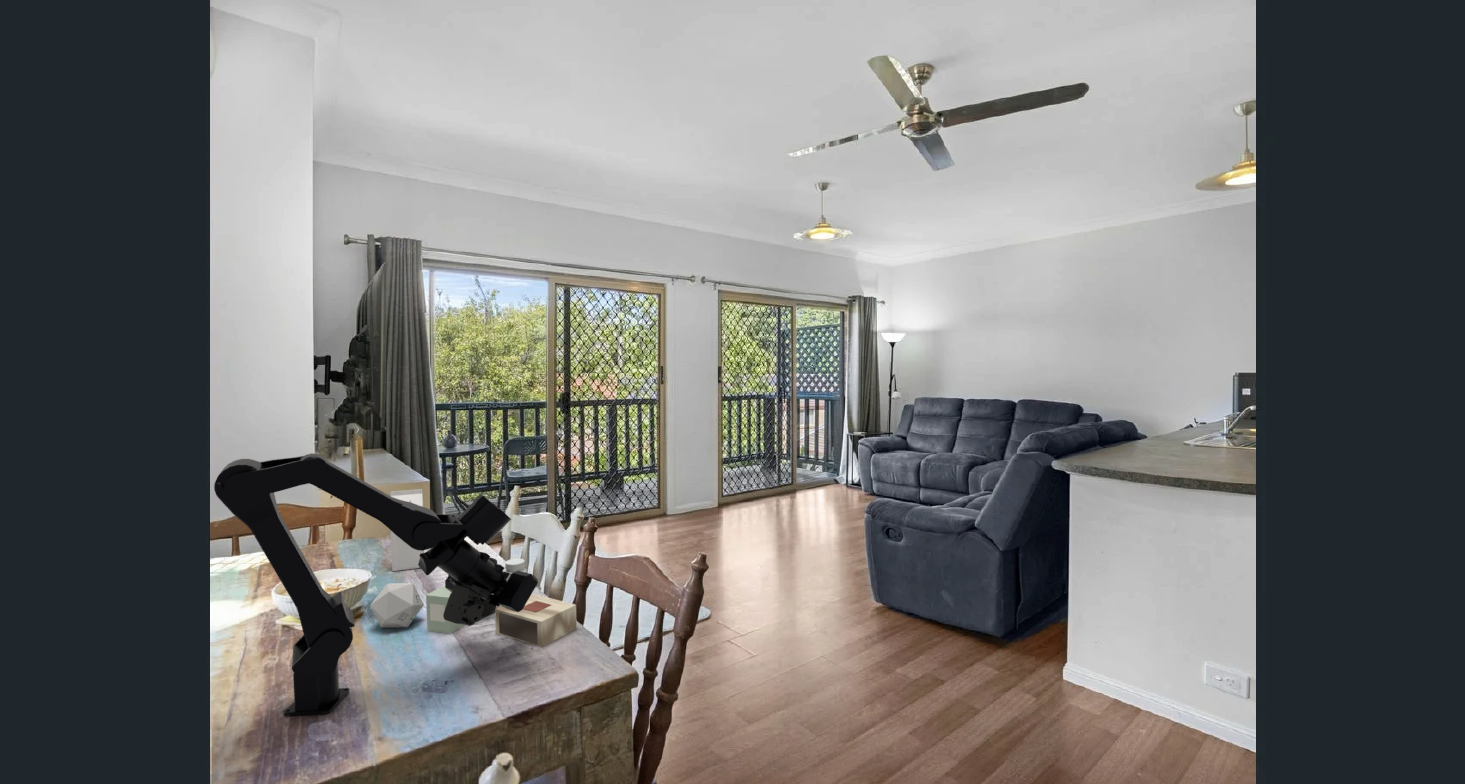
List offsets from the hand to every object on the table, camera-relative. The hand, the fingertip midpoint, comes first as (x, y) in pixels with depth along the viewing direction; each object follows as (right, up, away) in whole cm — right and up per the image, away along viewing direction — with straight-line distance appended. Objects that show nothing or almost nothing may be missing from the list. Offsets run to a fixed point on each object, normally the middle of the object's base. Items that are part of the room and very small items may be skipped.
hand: (517, 604), depth 121 cm
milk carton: (-41, -4, +42) cm, 59 cm away
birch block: (0, -4, 0) cm, 5 cm away
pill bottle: (-7, -6, +20) cm, 22 cm away
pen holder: (-13, -6, +14) cm, 20 cm away
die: (-26, -6, +7) cm, 28 cm away
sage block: (-16, -6, +6) cm, 18 cm away
